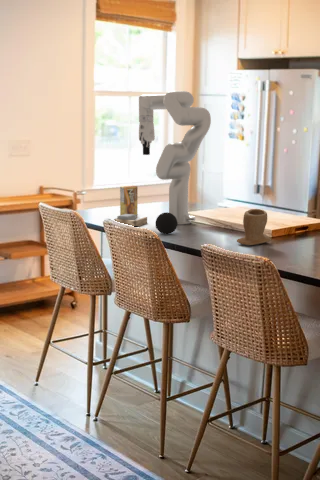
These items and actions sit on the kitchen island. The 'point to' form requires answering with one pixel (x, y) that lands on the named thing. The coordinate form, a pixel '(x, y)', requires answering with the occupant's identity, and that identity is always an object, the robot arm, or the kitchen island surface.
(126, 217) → the crate
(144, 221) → the bay
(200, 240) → the kitchen island surface
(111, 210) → the kitchen island surface
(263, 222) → the stone cup
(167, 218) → the speaker
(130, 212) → the candy box
